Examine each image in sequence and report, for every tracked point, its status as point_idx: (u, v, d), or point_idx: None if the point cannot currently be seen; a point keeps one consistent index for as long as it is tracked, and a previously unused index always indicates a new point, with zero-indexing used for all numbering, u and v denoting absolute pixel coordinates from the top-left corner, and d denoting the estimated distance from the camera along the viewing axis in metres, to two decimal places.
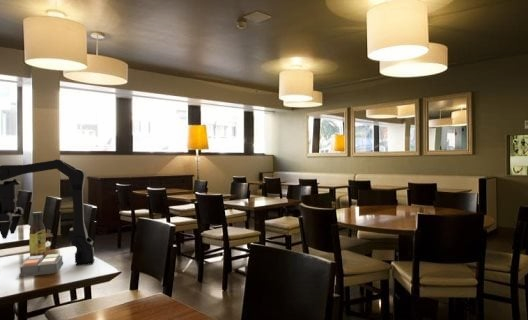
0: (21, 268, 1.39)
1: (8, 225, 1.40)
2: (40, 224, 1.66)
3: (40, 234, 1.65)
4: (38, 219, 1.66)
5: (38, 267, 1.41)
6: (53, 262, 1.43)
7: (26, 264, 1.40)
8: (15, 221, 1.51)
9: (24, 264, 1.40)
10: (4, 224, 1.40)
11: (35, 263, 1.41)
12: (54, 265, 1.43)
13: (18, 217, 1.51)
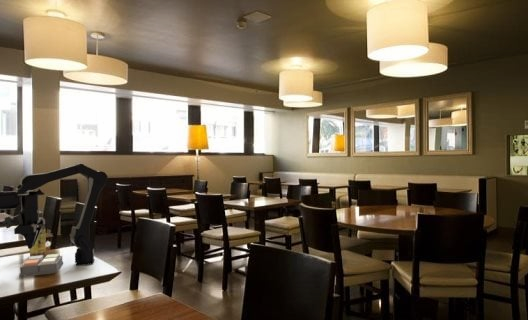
0: (21, 268, 1.39)
1: (34, 235, 1.40)
2: (40, 224, 1.66)
3: (40, 234, 1.65)
4: None
5: (38, 267, 1.41)
6: (53, 262, 1.43)
7: (26, 264, 1.40)
8: None
9: (24, 264, 1.40)
10: (30, 234, 1.40)
11: (35, 263, 1.41)
12: (54, 265, 1.43)
13: (38, 229, 1.45)
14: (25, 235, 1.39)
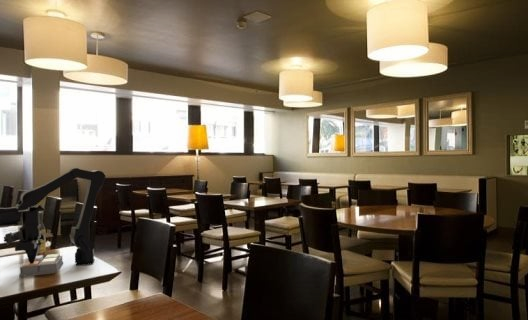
0: (21, 268, 1.39)
1: (36, 250, 1.41)
2: None
3: None
4: None
5: (38, 267, 1.41)
6: (53, 262, 1.43)
7: None
8: None
9: (24, 266, 1.40)
10: (32, 249, 1.42)
11: None
12: (54, 265, 1.43)
13: None
14: (27, 250, 1.41)
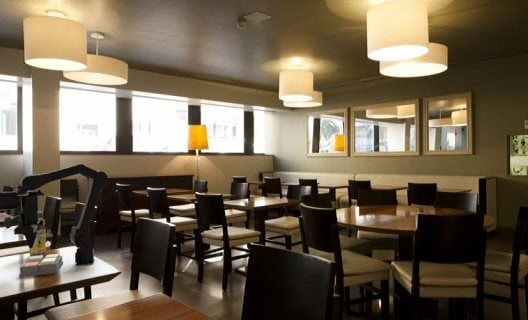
0: (21, 268, 1.39)
1: (35, 235, 1.41)
2: None
3: (40, 234, 1.65)
4: None
5: (38, 267, 1.41)
6: (53, 262, 1.43)
7: None
8: None
9: (24, 266, 1.40)
10: (31, 234, 1.41)
11: None
12: (54, 265, 1.43)
13: None
14: (26, 235, 1.40)
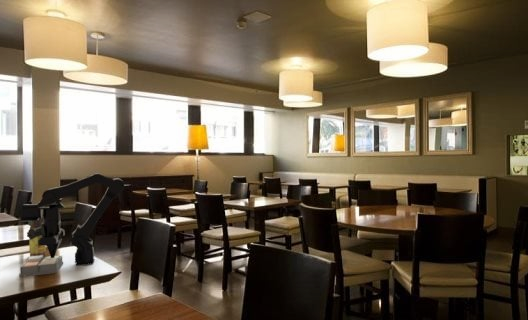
0: (21, 268, 1.39)
1: (56, 245, 1.49)
2: (40, 224, 1.66)
3: None
4: None
5: (38, 267, 1.41)
6: (53, 262, 1.43)
7: None
8: None
9: (24, 266, 1.40)
10: (53, 244, 1.49)
11: None
12: (54, 265, 1.43)
13: (58, 241, 1.52)
14: (48, 245, 1.48)
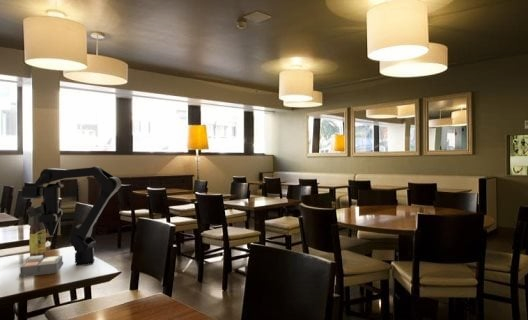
0: (21, 268, 1.39)
1: (55, 223, 1.53)
2: (40, 224, 1.66)
3: (40, 234, 1.65)
4: None
5: (38, 267, 1.41)
6: (53, 262, 1.43)
7: None
8: None
9: (24, 266, 1.40)
10: (51, 222, 1.53)
11: None
12: (54, 265, 1.43)
13: (57, 220, 1.55)
14: (47, 223, 1.52)
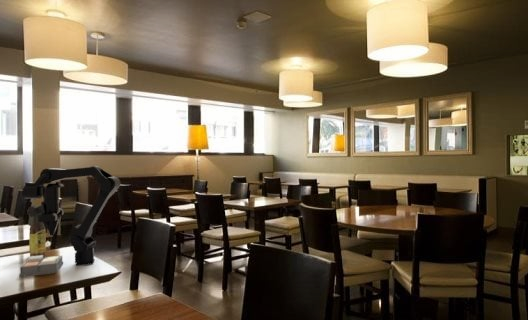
0: (21, 268, 1.39)
1: (55, 223, 1.53)
2: (40, 224, 1.66)
3: (40, 234, 1.65)
4: None
5: (38, 267, 1.41)
6: (53, 262, 1.43)
7: None
8: None
9: (24, 266, 1.40)
10: (52, 222, 1.53)
11: None
12: (54, 265, 1.43)
13: None
14: (47, 223, 1.52)
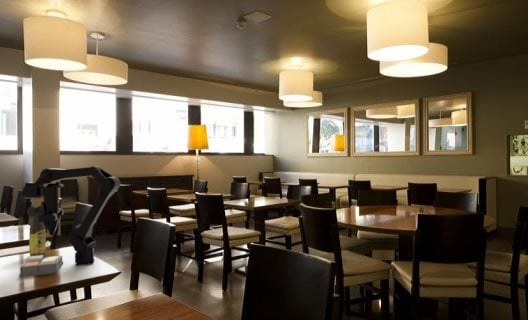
0: (21, 268, 1.39)
1: (55, 223, 1.53)
2: (40, 224, 1.66)
3: (40, 234, 1.65)
4: None
5: (38, 267, 1.41)
6: (53, 262, 1.43)
7: None
8: None
9: (24, 266, 1.40)
10: (52, 222, 1.53)
11: None
12: (54, 265, 1.43)
13: None
14: (47, 223, 1.52)
